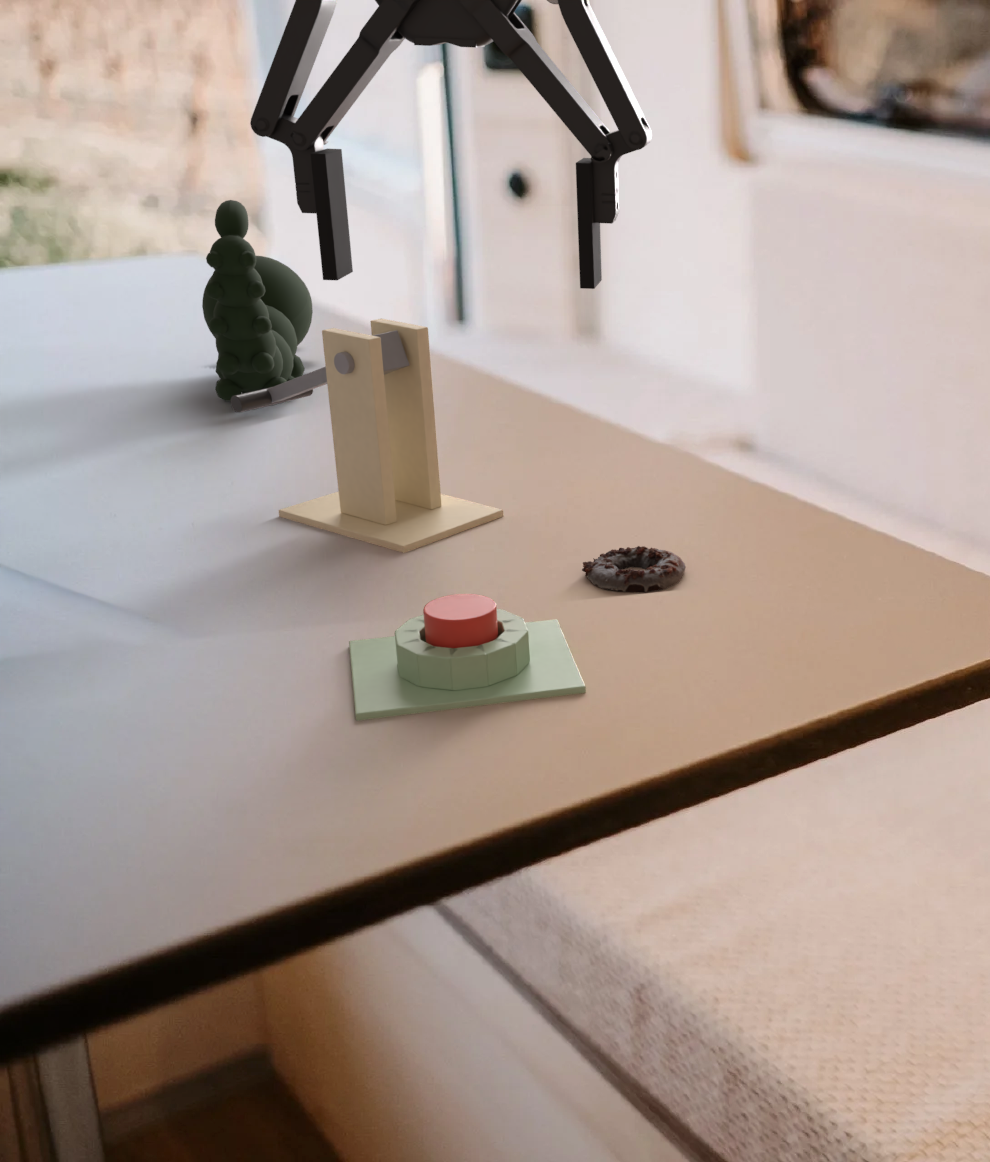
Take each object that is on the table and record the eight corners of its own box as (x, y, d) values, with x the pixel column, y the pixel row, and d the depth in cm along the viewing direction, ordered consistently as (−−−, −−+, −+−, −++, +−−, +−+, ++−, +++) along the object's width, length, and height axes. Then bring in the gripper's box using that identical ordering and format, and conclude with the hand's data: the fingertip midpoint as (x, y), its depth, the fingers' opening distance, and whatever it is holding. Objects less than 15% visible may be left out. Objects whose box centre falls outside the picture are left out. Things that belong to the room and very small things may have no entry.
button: (428, 655, 73) (426, 623, 72) (423, 628, 76) (420, 597, 75) (502, 647, 74) (500, 615, 73) (493, 620, 77) (491, 590, 77)
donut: (623, 555, 97) (622, 526, 96) (725, 577, 94) (725, 547, 93) (547, 597, 90) (545, 566, 89) (654, 622, 87) (653, 590, 86)
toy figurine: (313, 437, 125) (321, 347, 147) (288, 216, 117) (300, 154, 138) (194, 442, 123) (220, 350, 144) (159, 216, 114) (192, 154, 135)
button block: (359, 754, 71) (351, 679, 69) (352, 677, 78) (345, 609, 77) (587, 725, 74) (584, 653, 73) (559, 654, 82) (555, 588, 81)
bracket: (280, 527, 100) (255, 327, 95) (383, 494, 107) (365, 306, 102) (404, 564, 94) (386, 353, 89) (504, 527, 101) (492, 329, 96)
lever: (237, 422, 101) (224, 389, 101) (308, 405, 106) (296, 373, 105) (361, 376, 93) (347, 340, 93) (431, 360, 98) (419, 325, 97)
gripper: (699, -138, 75) (701, 275, 83) (208, -160, 74) (257, 261, 82) (685, -153, 68) (689, 300, 76) (144, -176, 67) (204, 284, 75)
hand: (465, 280), depth 79 cm, fingers open, 13 cm apart
